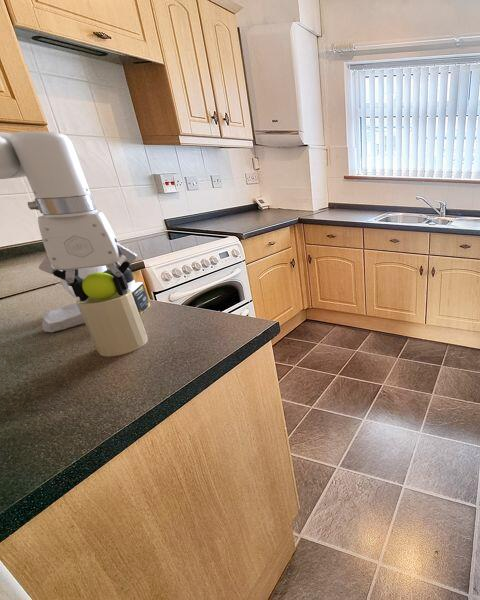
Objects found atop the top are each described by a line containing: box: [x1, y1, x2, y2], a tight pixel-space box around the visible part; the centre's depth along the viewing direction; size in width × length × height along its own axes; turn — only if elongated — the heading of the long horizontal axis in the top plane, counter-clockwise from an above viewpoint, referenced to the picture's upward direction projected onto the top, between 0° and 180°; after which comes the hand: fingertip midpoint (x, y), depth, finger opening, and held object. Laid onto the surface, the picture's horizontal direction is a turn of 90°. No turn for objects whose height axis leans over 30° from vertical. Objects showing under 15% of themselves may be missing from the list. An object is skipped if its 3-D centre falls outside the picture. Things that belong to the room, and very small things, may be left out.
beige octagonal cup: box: [75, 289, 149, 357], centre depth 72 cm, size 9×9×12 cm
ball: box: [82, 272, 117, 300], centre depth 69 cm, size 6×6×6 cm
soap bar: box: [41, 302, 85, 333], centre depth 83 cm, size 10×6×6 cm, turn 144°
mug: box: [60, 266, 108, 299], centre depth 93 cm, size 10×7×12 cm, turn 131°
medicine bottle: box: [103, 267, 151, 316], centre depth 87 cm, size 7×7×12 cm
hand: (104, 295), depth 69 cm, fingers closed on ball, 5 cm apart
